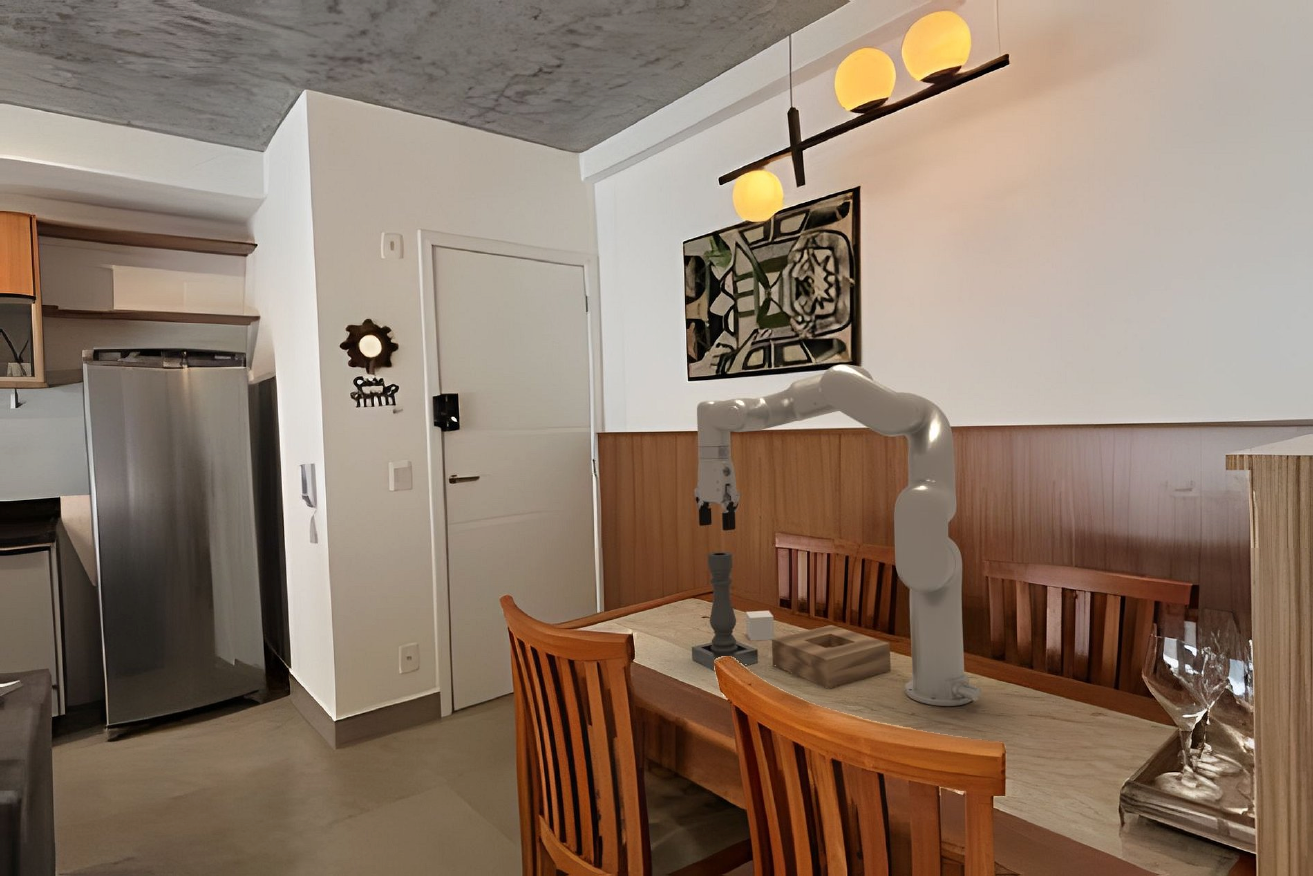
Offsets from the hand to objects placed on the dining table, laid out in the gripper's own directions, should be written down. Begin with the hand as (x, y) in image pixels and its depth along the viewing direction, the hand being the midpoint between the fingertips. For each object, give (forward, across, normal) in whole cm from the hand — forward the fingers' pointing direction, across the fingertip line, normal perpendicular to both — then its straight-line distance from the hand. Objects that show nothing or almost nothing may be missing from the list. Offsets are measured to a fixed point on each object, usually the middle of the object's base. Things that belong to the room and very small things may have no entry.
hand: (716, 527), depth 166 cm
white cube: (+32, +9, -18) cm, 38 cm away
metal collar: (+31, -1, 0) cm, 31 cm away
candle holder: (+31, -1, 0) cm, 31 cm away
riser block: (+31, -19, -16) cm, 40 cm away
